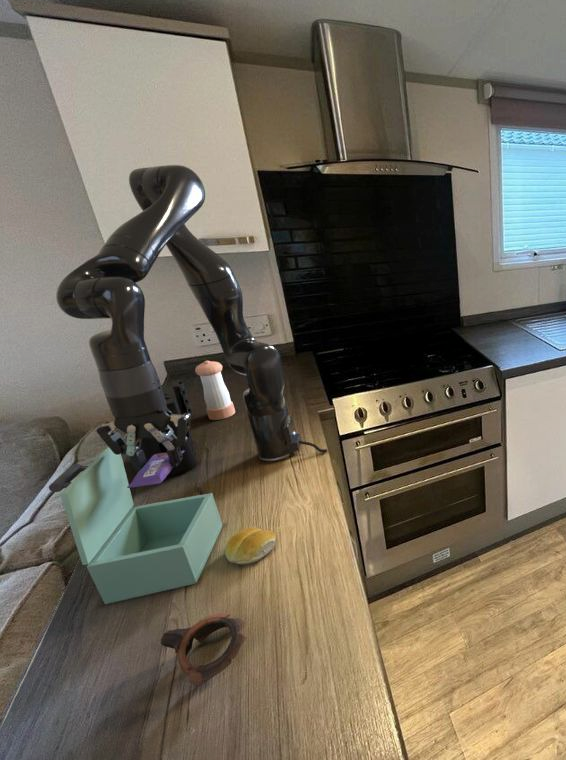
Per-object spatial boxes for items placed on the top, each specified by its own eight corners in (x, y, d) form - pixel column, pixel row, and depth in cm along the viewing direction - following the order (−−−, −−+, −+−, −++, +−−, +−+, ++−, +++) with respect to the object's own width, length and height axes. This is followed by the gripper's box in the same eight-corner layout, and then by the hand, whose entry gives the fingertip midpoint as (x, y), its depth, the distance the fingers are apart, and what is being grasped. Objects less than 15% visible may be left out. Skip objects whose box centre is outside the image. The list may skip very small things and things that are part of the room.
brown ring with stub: (260, 620, 77) (253, 609, 71) (236, 688, 70) (226, 681, 64) (181, 617, 74) (167, 605, 68) (149, 687, 67) (130, 681, 61)
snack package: (158, 478, 79) (124, 483, 77) (161, 487, 80) (127, 492, 78) (184, 446, 89) (154, 449, 88) (186, 454, 90) (156, 458, 88)
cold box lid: (118, 442, 85) (84, 444, 83) (66, 493, 71) (24, 497, 69) (133, 504, 90) (102, 508, 88) (88, 564, 76) (49, 569, 74)
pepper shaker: (222, 421, 140) (206, 366, 133) (203, 419, 141) (186, 364, 134) (240, 410, 147) (226, 357, 140) (221, 408, 148) (206, 356, 141)
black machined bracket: (150, 485, 110) (121, 407, 102) (151, 449, 125) (125, 379, 117) (207, 467, 117) (184, 393, 109) (201, 435, 132) (180, 368, 124)
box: (222, 525, 97) (212, 492, 94) (196, 583, 83) (183, 546, 80) (146, 541, 93) (132, 507, 90) (104, 604, 79) (86, 566, 76)
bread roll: (251, 531, 96) (247, 517, 94) (284, 540, 93) (280, 526, 92) (215, 560, 88) (210, 544, 87) (249, 571, 86) (245, 555, 84)
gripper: (69, 400, 73) (103, 485, 79) (171, 390, 78) (196, 471, 84) (95, 383, 80) (125, 462, 86) (188, 374, 84) (210, 450, 90)
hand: (160, 466), depth 85 cm, fingers closed on snack package, 4 cm apart
